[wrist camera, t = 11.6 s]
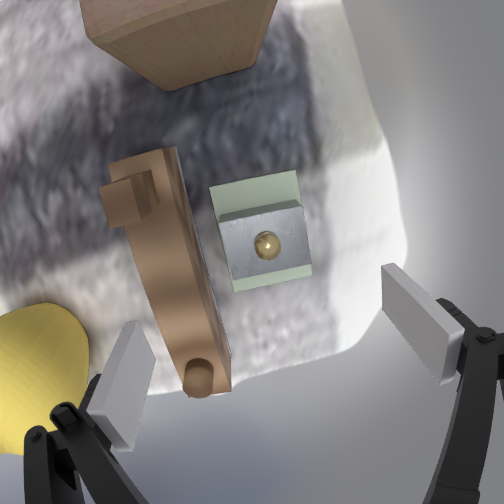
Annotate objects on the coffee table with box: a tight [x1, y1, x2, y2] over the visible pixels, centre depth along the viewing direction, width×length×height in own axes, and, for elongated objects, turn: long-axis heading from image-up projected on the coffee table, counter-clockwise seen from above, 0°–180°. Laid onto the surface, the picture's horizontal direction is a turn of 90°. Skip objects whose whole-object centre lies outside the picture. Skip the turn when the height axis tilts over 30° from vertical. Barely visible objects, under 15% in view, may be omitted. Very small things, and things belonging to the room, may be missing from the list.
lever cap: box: [219, 199, 311, 280], centre depth 33 cm, size 6×8×5 cm
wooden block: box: [79, 0, 277, 91], centre depth 18 cm, size 10×10×20 cm
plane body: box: [99, 146, 232, 398], centre depth 30 cm, size 26×5×13 cm, turn 11°
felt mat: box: [209, 170, 312, 292], centre depth 35 cm, size 12×9×1 cm
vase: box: [0, 302, 89, 455], centre depth 25 cm, size 16×16×28 cm
